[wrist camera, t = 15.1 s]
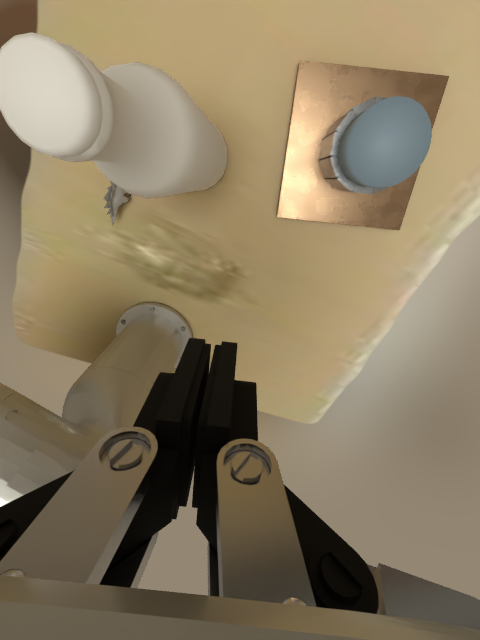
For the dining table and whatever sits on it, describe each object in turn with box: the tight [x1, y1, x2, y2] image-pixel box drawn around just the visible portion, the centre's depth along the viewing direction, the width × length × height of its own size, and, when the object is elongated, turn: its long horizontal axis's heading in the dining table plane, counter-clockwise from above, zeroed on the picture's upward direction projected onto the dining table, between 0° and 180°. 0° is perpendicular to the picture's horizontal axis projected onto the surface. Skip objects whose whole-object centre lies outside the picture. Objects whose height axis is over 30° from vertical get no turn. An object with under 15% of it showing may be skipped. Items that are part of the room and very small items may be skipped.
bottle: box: [0, 33, 228, 198], centre depth 24 cm, size 8×8×30 cm
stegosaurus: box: [104, 182, 131, 226], centre depth 38 cm, size 2×7×5 cm, turn 162°
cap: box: [338, 96, 432, 187], centre depth 29 cm, size 7×7×8 cm
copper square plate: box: [277, 60, 449, 230], centre depth 33 cm, size 16×16×8 cm
